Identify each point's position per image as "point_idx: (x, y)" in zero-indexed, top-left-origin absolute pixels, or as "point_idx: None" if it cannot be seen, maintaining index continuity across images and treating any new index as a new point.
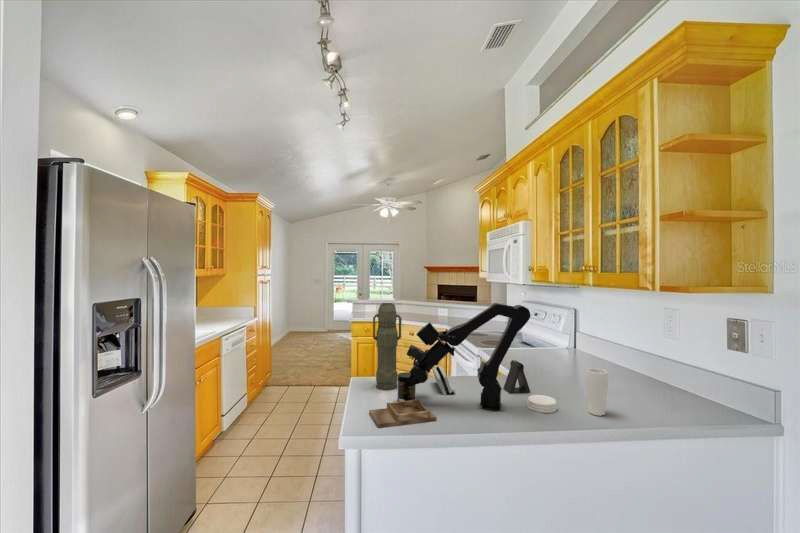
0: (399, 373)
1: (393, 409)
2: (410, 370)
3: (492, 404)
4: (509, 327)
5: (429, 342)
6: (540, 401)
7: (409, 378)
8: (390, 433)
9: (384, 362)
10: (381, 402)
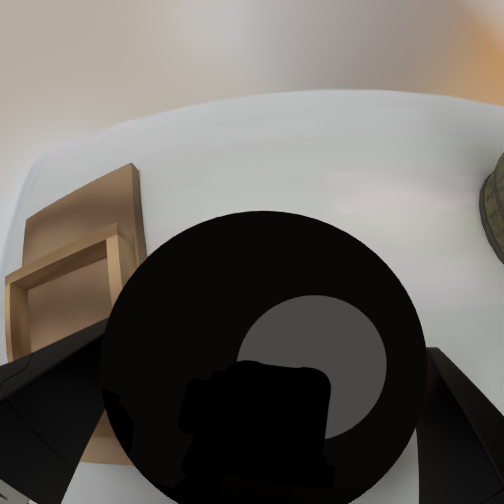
0: (340, 236)
1: (42, 262)
2: (499, 424)
3: None
4: None
5: None
6: None
7: (15, 370)
8: (5, 266)
9: None
10: (285, 203)
